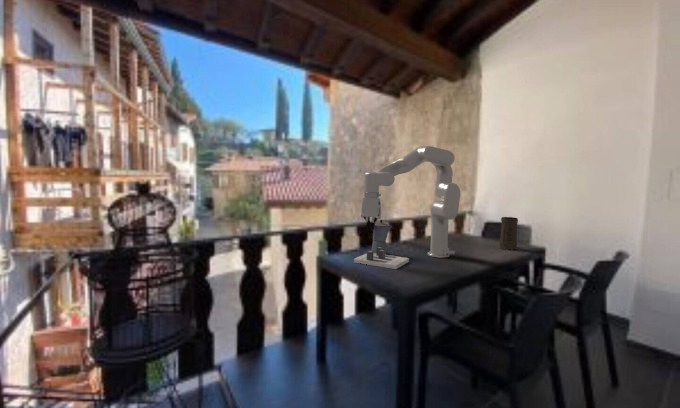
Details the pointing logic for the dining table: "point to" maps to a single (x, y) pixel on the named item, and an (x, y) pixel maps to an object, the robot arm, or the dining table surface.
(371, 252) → the breaker
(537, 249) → the dining table surface
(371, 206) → the robot arm
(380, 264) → the panel
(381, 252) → the block
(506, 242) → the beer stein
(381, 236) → the moka pot
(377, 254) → the block
